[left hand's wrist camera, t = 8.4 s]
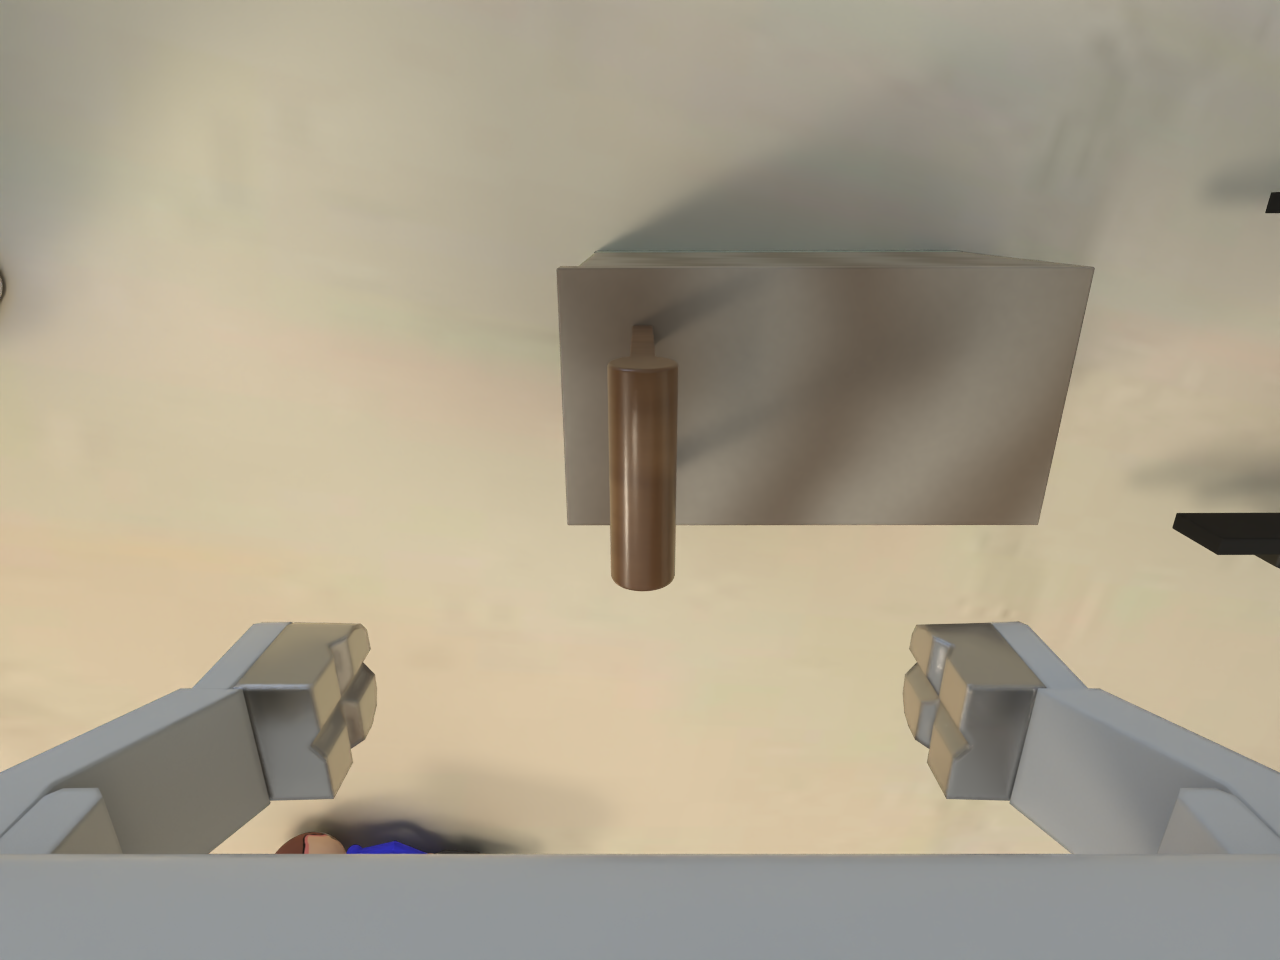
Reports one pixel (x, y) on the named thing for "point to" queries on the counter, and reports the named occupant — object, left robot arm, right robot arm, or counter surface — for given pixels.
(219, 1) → the counter surface
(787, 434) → the lid
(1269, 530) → the right robot arm
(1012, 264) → the chest
